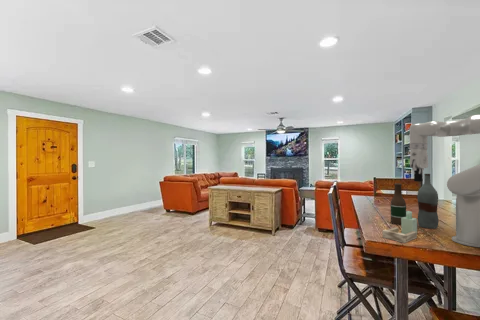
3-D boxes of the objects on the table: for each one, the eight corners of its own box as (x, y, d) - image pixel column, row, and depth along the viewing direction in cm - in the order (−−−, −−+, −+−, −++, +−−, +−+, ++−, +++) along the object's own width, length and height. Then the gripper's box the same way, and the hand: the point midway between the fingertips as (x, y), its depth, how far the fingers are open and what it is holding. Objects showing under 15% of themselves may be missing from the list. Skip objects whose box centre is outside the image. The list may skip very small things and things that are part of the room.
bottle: (417, 234, 118) (416, 211, 118) (412, 236, 115) (412, 213, 115) (406, 231, 122) (405, 210, 122) (401, 233, 119) (401, 211, 119)
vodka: (421, 228, 128) (420, 174, 128) (414, 223, 137) (414, 173, 137) (442, 229, 125) (441, 174, 125) (434, 225, 134) (433, 173, 134)
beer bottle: (409, 225, 133) (409, 184, 133) (396, 225, 133) (395, 184, 133) (400, 222, 141) (400, 182, 141) (387, 222, 141) (387, 182, 141)
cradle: (416, 237, 113) (416, 230, 113) (404, 242, 106) (404, 235, 106) (395, 232, 121) (395, 226, 121) (382, 237, 114) (382, 230, 114)
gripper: (420, 146, 116) (420, 182, 116) (432, 147, 124) (432, 181, 124) (403, 147, 122) (403, 181, 123) (416, 147, 130) (416, 180, 130)
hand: (418, 181), depth 123 cm, fingers closed
